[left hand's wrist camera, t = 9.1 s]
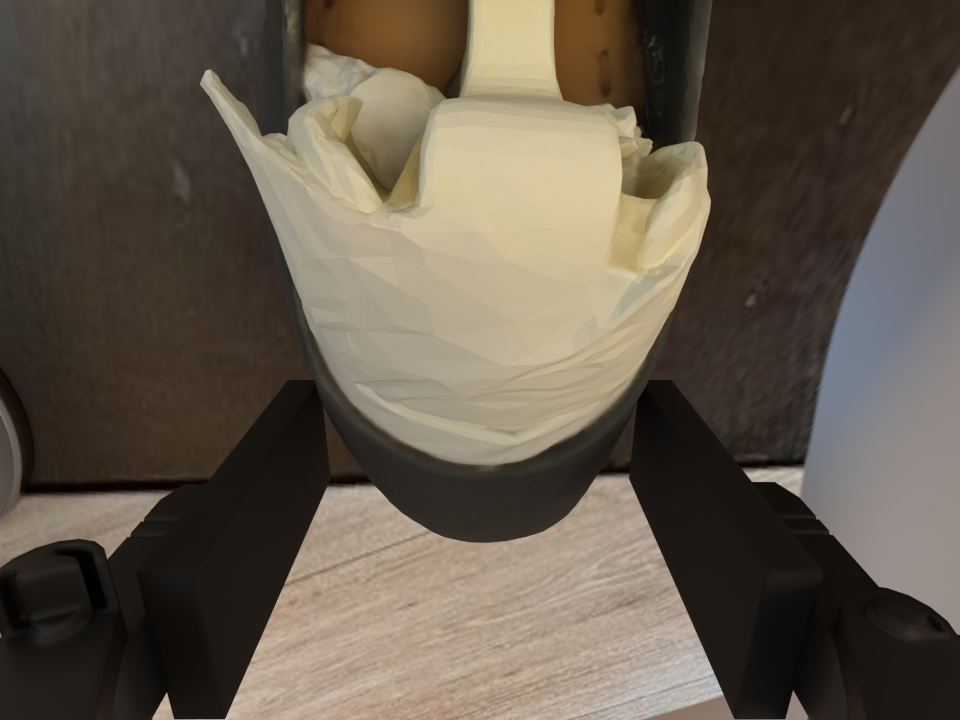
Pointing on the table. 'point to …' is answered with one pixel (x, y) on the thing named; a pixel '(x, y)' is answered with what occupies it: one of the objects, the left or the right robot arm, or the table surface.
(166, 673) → the left robot arm
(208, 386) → the table surface
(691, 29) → the ballet flat
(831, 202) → the table surface
